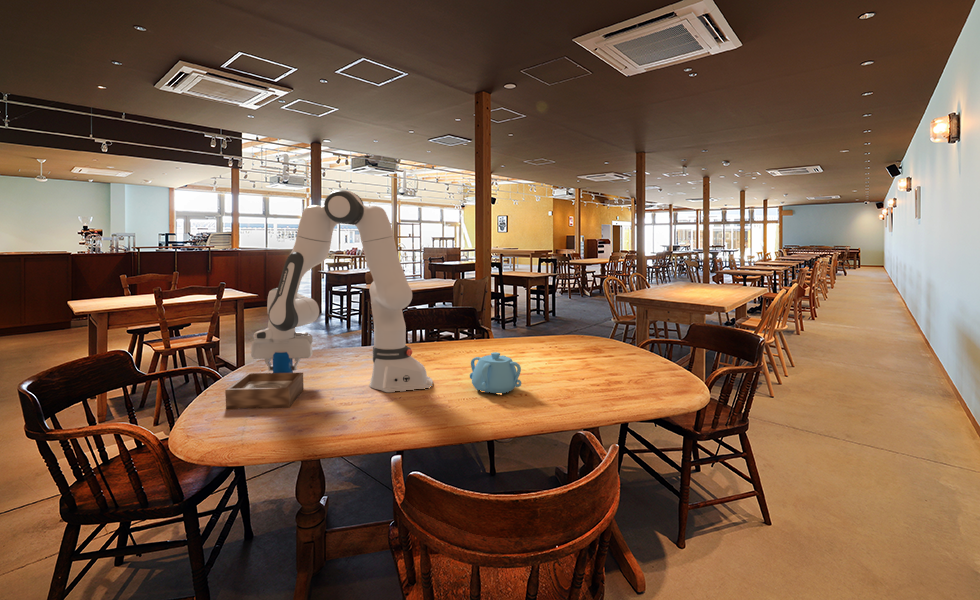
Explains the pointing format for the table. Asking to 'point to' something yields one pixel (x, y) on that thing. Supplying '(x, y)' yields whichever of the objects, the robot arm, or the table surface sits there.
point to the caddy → (264, 390)
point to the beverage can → (282, 363)
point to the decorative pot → (495, 373)
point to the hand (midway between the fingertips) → (282, 370)
